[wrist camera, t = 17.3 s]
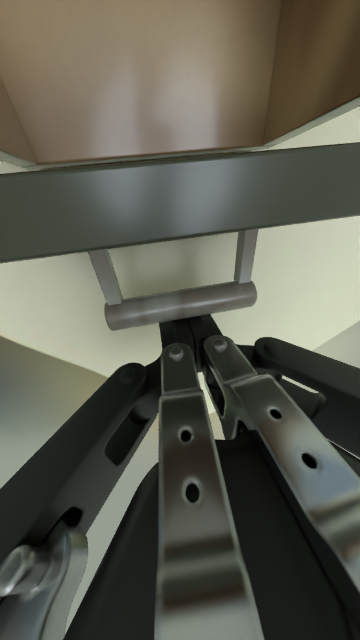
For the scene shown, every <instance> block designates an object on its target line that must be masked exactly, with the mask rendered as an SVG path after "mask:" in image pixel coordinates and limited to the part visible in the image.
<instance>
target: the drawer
mask: <svg viewBox="0 0 360 640" xmlns="http://www.w3.org/2000/svg"><path fill="white" fill-rule="evenodd" d="M359 106H360V0H0V160H1V161H4V162H7V163H10V164H14V165H17V166H21V167H24V168H27V169H41V168H53V167H64V166H76V165H87V164H99V163H110V162H121V161H133V160H144V159H156V158H167V157H179V156H190V155H202V154H213V153H224V152H236V151H247V150H259V149H268V148H270V147H272V146H274V145H276V144H279V143H281V142H283V141H286V140H288V139H290V138H292V137H294V136H296V135H298V134H301V133H303V132H305V131H307V130H309V129H311V128H314V127H316V126H318V125H320V124H322V123H324V122H326V121H329V120H331V119H333V118H335V117H337V116H339V115H342V114H344V113H346V112H348V111H350V110H352V109H354V108H357V107H359ZM353 216H360V142H357V143H345V144H334V145H323V146H311V147H300V148H289V149H277V150H266V151H255V152H244V153H232V154H221V155H210V156H198V157H187V158H176V159H164V160H153V161H142V162H130V163H119V164H108V165H96V166H85V167H74V168H62V169H51V170H40V171H28V172H17V173H6V174H0V263H7V262H14V261H22V260H29V259H37V258H45V257H52V256H60V255H67V254H75V253H82V252H88V254H89V256H90V259H91V262H92V264H93V267H94V270H95V272H96V275H97V277H98V280H99V283H100V285H101V288H102V291H103V293H104V296H105V298H106V301H107V302H106V303H105V309H104V310H105V318H106V322H107V324H108V327H109V328H110V330H112V331H116V330H122V329H127V328H133V327H139V326H144V325H150V324H156V323H161V322H167V321H173V320H178V319H184V318H190V317H195V316H201V315H206V314H212V313H218V312H223V311H229V310H235V309H240V308H246V307H251V306H253V305H254V304H255V302H256V298H257V292H256V287H255V285H254V283H253V282H252V281H251V274H252V267H253V261H254V254H255V247H256V241H257V234H258V229H262V228H270V227H277V226H285V225H292V224H300V223H307V222H315V221H322V220H330V219H338V218H345V217H353ZM232 232H238V241H237V252H236V263H235V274H234V280H235V281H233V282H227V283H220V284H214V285H208V286H202V287H196V288H189V289H183V290H177V291H171V292H165V293H158V294H152V295H146V296H140V297H133V298H127V299H123V296H122V293H121V290H120V287H119V283H118V280H117V277H116V274H115V271H114V268H113V264H112V261H111V258H110V255H109V252H108V249H112V248H120V247H127V246H135V245H142V244H150V243H157V242H165V241H172V240H180V239H187V238H195V237H202V236H210V235H217V234H225V233H232Z"/></svg>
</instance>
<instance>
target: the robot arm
mask: <svg viewBox="0 0 360 640" xmlns="http://www.w3.org/2000/svg"><path fill="white" fill-rule="evenodd" d="M159 326H160V333H161V341H162V353H161V355H160V357H159V358H158V359H157V360H156V361H154V362H153V363H151V364H149V365H147V366H145V367H144V366H143V365H141V364H139V363H128V364H125V365H123V366H121V367H120V368H118V369H117V370H116V371H115V372H114V373H113V374H112V375H111V376H110V377H109V378H108V380H107V381H105V383H104V384H103V385H102V386H101V387H100V388H99V389H98V390H97V391H96V392H95V393H94V394H93V395H92V396H91V397H90V398H89V399H88V400H87V401H86V402H85V403H84V404H83V405H82V406H81V407H80V408H79V409H78V410H77V411H76V412H75V413H74V414H73V415H72V416H71V417H70V418H69V419H68V420H67V421H66V422H65V423H64V424H63V426H61V427H60V429H59V430H58V431H57V432H56V433H55V434H54V435H53V436H52V437H51V438H50V439H49V440H48V441H47V442H46V443H45V444H44V445H43V446H42V447H41V448H40V449H39V450H38V451H37V452H36V453H35V454H34V455H33V456H32V457H31V458H30V459H29V460H28V461H27V462H26V463H25V464H24V465H23V466H22V467H21V468H20V470H19V471H17V473H16V474H15V475H14V476H13V477H12V478H11V479H10V480H9V481H8V482H7V483H6V484H5V485H4V486H3V487H2V488H1V489H0V640H360V460H359V459H358V458H356V457H355V456H353V455H351V454H350V453H348V452H347V451H349V452H351V453H353V454H354V455H356V456H358V457H359V458H360V369H359V368H357V367H354V366H351V365H348V364H346V363H343V362H340V361H337V360H334V359H332V358H329V357H326V356H323V355H321V354H318V353H315V352H312V351H310V350H307V349H304V348H301V347H298V346H296V345H293V344H290V343H287V342H285V341H282V340H279V339H276V338H272V337H263V338H260V339H258V340H257V341H256V342H255V345H254V346H250V345H238V344H235V343H234V342H233V341H232V340H231V339H230V338H228V337H226V336H223V335H222V333H221V331H220V330H219V328H218V326H217V325H216V323H215V321H214V320H213V318H212V317H211V315H210V314H206V315H201V316H195V317H190V318H184V319H178V320H173V321H167V322H161V323H159ZM198 372H203V375H204V384H205V387H206V389H207V391H208V394H209V396H210V398H211V401H212V403H213V405H214V408H215V410H216V412H217V414H218V416H219V419H220V422H221V425H222V430H223V434H224V437H225V440H216V439H214V435H213V431H212V426H211V422H210V418H209V414H208V409H207V405H206V401H205V397H204V393H203V390H201V388H200V383H199V379H198V374H197V373H198ZM282 375H284V376H286V377H288V378H290V379H292V380H294V381H296V382H299V383H301V384H303V385H305V386H307V387H309V388H311V389H313V390H316V391H318V392H319V393H312V392H309V391H307V390H305V389H303V388H301V387H299V386H297V385H295V384H293V383H291V382H289V381H287V380H284V379H282ZM157 413H159V462H158V463H157V464H156V465H154V466H153V468H152V469H151V470H150V471H149V472H148V473H147V475H146V476H145V477H144V479H143V480H142V482H141V483H140V485H139V487H138V488H137V490H136V492H135V494H134V496H133V498H132V500H131V502H130V504H129V506H128V508H127V510H126V512H125V514H124V517H123V518H122V521H121V522H120V525H119V527H118V529H117V531H116V533H115V535H114V537H113V539H112V541H111V543H110V545H109V547H108V549H107V551H106V553H105V555H104V557H103V559H102V561H101V563H100V565H99V567H98V570H97V571H96V573H95V576H94V578H93V580H92V582H91V584H90V586H89V588H88V590H87V592H86V594H85V596H84V598H83V600H82V602H81V604H80V606H79V608H78V610H77V612H76V614H75V616H74V618H73V620H72V622H71V624H70V627H69V628H68V631H67V633H66V635H65V628H66V622H67V618H68V614H69V610H70V607H71V604H72V601H73V598H74V596H75V594H76V592H77V589H78V587H79V585H80V583H81V580H82V578H83V575H84V572H85V568H86V564H87V558H88V541H87V537H86V533H87V531H88V530H89V528H90V526H91V525H92V523H93V521H94V520H95V518H96V516H97V515H98V513H99V511H100V510H101V508H102V506H103V505H104V503H105V501H106V500H107V498H108V496H109V495H110V493H111V491H112V489H113V488H114V486H115V485H116V483H117V482H118V480H119V478H120V476H121V475H122V473H123V472H124V470H125V468H126V466H127V465H128V463H129V462H130V460H131V458H132V457H133V455H134V453H135V452H136V450H137V448H138V447H139V445H140V443H141V442H142V440H143V438H144V437H145V435H146V433H147V432H148V430H149V428H150V427H151V425H152V423H153V422H154V420H155V418H156V416H157ZM326 438H327V439H329V440H330V441H332V442H334V443H335V444H337V445H339V446H341V447H342V448H344V449H346V450H347V451H345V450H343V449H342V448H340V447H339V446H337V445H335V444H334V443H332V442H330V441H329V440H327V439H326ZM64 636H65V637H64Z"/></svg>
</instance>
